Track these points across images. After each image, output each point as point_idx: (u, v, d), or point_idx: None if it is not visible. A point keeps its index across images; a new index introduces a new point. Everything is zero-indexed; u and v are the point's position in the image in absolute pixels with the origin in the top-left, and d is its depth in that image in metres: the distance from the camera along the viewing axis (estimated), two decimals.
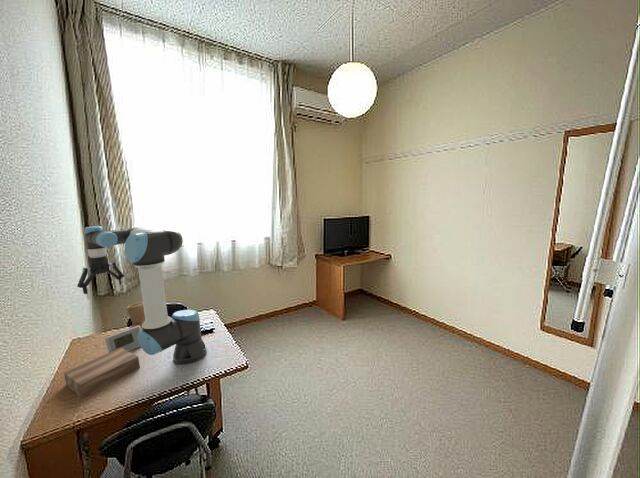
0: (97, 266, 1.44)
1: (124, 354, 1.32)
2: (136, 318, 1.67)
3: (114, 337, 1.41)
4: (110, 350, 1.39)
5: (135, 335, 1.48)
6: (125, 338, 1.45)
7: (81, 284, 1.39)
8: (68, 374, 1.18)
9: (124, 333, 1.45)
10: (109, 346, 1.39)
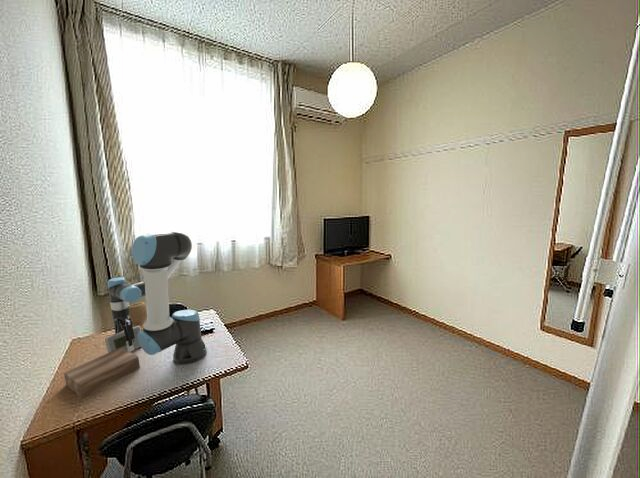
0: None
1: (124, 354, 1.32)
2: (136, 318, 1.67)
3: (114, 337, 1.41)
4: (110, 350, 1.38)
5: (135, 335, 1.48)
6: (125, 338, 1.44)
7: (115, 331, 1.47)
8: (68, 374, 1.18)
9: (124, 333, 1.44)
10: (109, 346, 1.38)
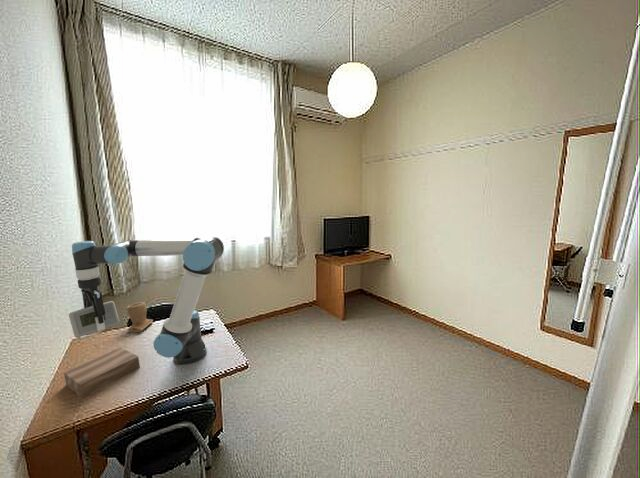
0: None
1: (124, 354, 1.32)
2: (136, 318, 1.67)
3: (80, 313, 1.17)
4: (75, 328, 1.15)
5: (107, 312, 1.24)
6: (94, 314, 1.21)
7: (84, 306, 1.24)
8: (68, 374, 1.18)
9: (93, 309, 1.21)
10: (73, 323, 1.15)
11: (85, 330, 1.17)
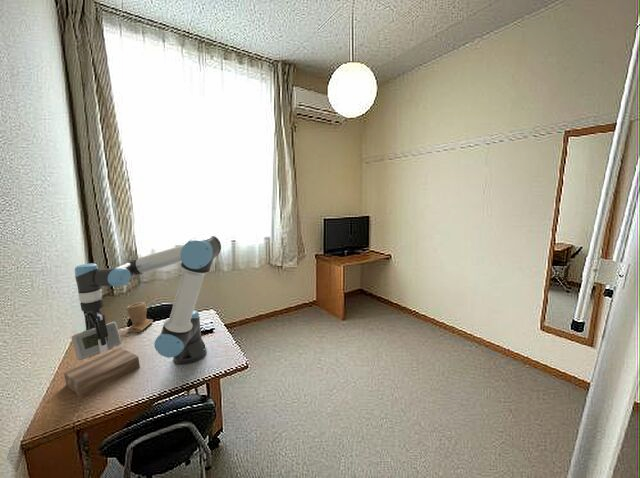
0: None
1: (124, 354, 1.32)
2: (136, 318, 1.67)
3: (83, 335, 1.18)
4: (77, 351, 1.15)
5: (109, 333, 1.25)
6: (96, 336, 1.21)
7: (86, 328, 1.24)
8: (68, 374, 1.18)
9: None
10: (76, 346, 1.16)
11: (87, 352, 1.18)
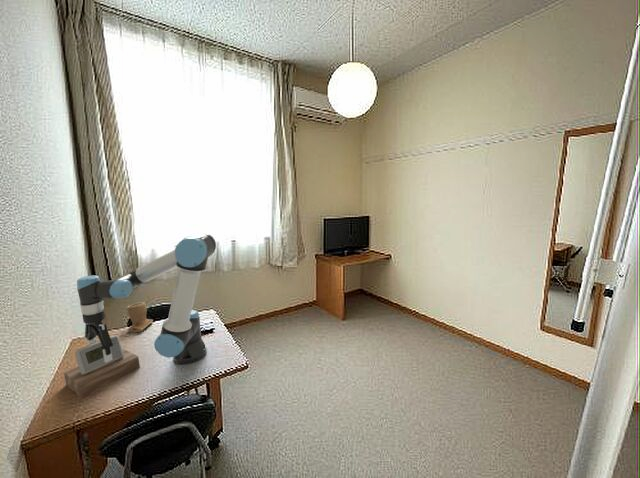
0: (90, 323, 1.21)
1: (124, 354, 1.32)
2: (136, 318, 1.67)
3: (86, 350, 1.19)
4: (81, 366, 1.17)
5: (112, 347, 1.26)
6: (99, 350, 1.23)
7: (85, 334, 1.26)
8: (68, 374, 1.18)
9: (98, 345, 1.23)
10: (80, 361, 1.17)
11: (91, 367, 1.19)
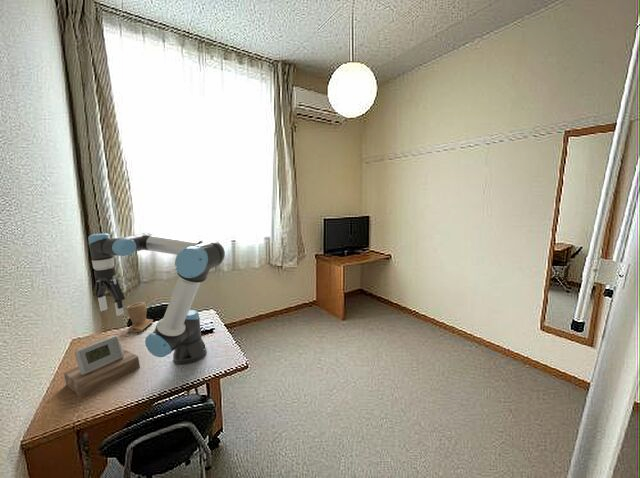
0: (101, 279, 1.26)
1: (124, 354, 1.32)
2: (136, 318, 1.67)
3: (86, 350, 1.19)
4: (81, 366, 1.16)
5: (112, 347, 1.26)
6: (99, 350, 1.23)
7: (95, 292, 1.31)
8: (68, 374, 1.18)
9: (98, 345, 1.23)
10: (79, 361, 1.17)
11: (91, 367, 1.19)
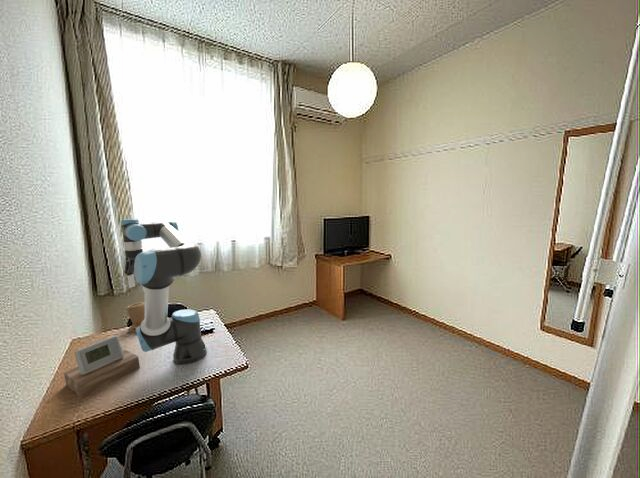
0: (131, 259, 1.43)
1: (124, 354, 1.32)
2: (136, 318, 1.67)
3: (86, 350, 1.19)
4: (80, 366, 1.16)
5: (112, 347, 1.26)
6: (99, 350, 1.22)
7: (125, 271, 1.48)
8: (68, 374, 1.18)
9: (98, 345, 1.23)
10: (79, 361, 1.17)
11: (90, 367, 1.19)
